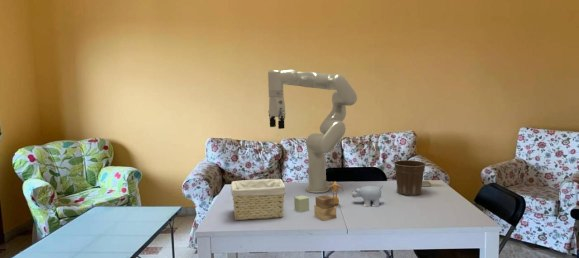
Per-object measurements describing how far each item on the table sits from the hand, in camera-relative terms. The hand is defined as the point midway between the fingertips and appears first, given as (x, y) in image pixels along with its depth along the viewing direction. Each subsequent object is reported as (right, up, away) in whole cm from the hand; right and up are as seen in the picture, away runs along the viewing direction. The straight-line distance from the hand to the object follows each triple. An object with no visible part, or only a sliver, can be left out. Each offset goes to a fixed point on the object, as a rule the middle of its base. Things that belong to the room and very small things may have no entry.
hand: (277, 127), depth 200 cm
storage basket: (-8, -40, -22) cm, 46 cm away
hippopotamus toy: (+45, -37, -10) cm, 59 cm away
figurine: (+29, -38, -11) cm, 49 cm away
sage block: (+12, -39, -17) cm, 44 cm away
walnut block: (+22, -35, -28) cm, 50 cm away
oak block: (+22, -40, -27) cm, 53 cm away
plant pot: (+70, -35, +6) cm, 78 cm away
